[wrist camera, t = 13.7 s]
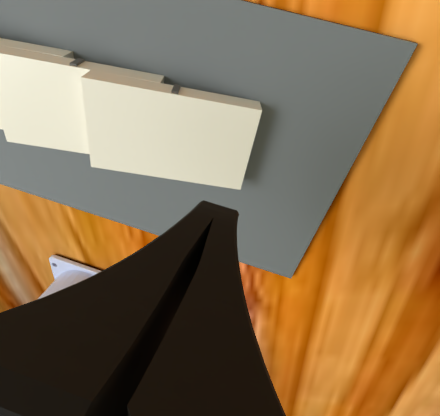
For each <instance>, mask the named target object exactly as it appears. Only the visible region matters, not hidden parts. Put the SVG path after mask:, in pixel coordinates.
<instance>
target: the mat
mask: <svg viewBox="0 0 440 416" xmlns="http://www.w3.org/2000/svg"><path fill="white" fill-rule="evenodd" d="M0 38H3V39H9V40H14V41H20V42H25V43H31V44H36V45H42V46H47V47H53V48H58V49H64V50H69V51H73V55H74V59H77V58H80V59H84V61H88V62H94V63H99V64H104V65H110V66H115V67H120V68H126V69H131V70H136V71H142V72H147V73H152V74H158V75H163V76H164V84H169V85H174V84H177V85H181V87H185V88H190V89H196V90H201V91H206V92H212V93H217V94H222V95H228V96H233V97H238V98H244V99H249V100H254V101H260V104H261V108H262V113H261V117H260V120H259V124H258V128H257V131H256V135H255V139H254V142H253V146H252V150H251V153H250V157H249V161H248V164H247V168H246V171H245V175H244V179H243V182H242V186H241V190H238V189H231V188H225V187H218V186H212V185H205V184H199V183H192V182H186V181H179V180H173V179H166V178H160V177H153V176H147V175H140V174H134V173H127V172H121V171H114V170H108V169H101V168H95V167H91V162H90V154H84V153H78V152H71V151H65V150H58V149H52V148H46V147H39V146H33V145H26V144H20V143H13V142H7V140H6V137H5V134H4V130H2V129H0V184H2V185H5V186H8V187H11V188H14V189H18V190H21V191H24V192H27V193H30V194H33V195H36V196H39V197H42V198H45V199H48V200H51V201H54V202H57V203H61V204H64V205H67V206H70V207H73V208H76V209H79V210H82V211H85V212H88V213H91V214H94V215H97V216H100V217H104V218H107V219H110V220H113V221H116V222H119V223H122V224H125V225H128V226H131V227H134V228H137V229H140V230H144V231H147V232H150V233H153V234H156V235H159V236H160V235H162V234H163V233H164V232H166V231H167V230H168V229H169V228H171V227H172V226H173V225H175V224H176V223H177V222H178V221H180V220H181V219H182V218H183V217H184V216H185V215H187V214H188V213H189V212H190V211H191V210H192V209H193V208H194V207H195V206H196V205H197V204H198V203H199V202H201V201H203V200H204V201H208V202H211V203H214V204H217V205H221V206H224V207H227V208H231V209H234V210H237V211H238V213H239V217H238V222H237V248H238V260H239V262H242V263H245V264H248V265H251V266H254V267H257V268H260V269H263V270H266V271H270V272H273V273H276V274H279V275H282V276H285V277H288V278H291V277H292V275H293V274H294V272H295V270H296V268H297V266H298V264H299V262H300V261H301V259H302V257H303V255H304V253H305V251H306V250H307V248H308V246H309V244H310V242H311V240H312V238H313V237H314V235H315V233H316V231H317V229H318V227H319V226H320V224H321V222H322V220H323V218H324V216H325V214H326V213H327V211H328V209H329V207H330V205H331V203H332V202H333V200H334V198H335V196H336V194H337V192H338V190H339V189H340V187H341V185H342V183H343V181H344V179H345V178H346V176H347V174H348V172H349V170H350V168H351V166H352V165H353V163H354V161H355V159H356V157H357V155H358V154H359V152H360V150H361V148H362V146H363V144H364V142H365V141H366V139H367V137H368V135H369V133H370V131H371V130H372V128H373V126H374V124H375V122H376V120H377V118H378V117H379V115H380V113H381V111H382V109H383V107H384V106H385V104H386V102H387V100H388V98H389V96H390V94H391V93H392V91H393V89H394V87H395V85H396V83H397V82H398V80H399V78H400V76H401V74H402V72H403V70H404V69H405V67H406V65H407V63H408V61H409V59H410V58H411V56H412V54H413V52H414V50H415V48H416V46H417V45H418V44H417V43H415V42H411V41H407V40H403V39H399V38H395V37H391V36H387V35H382V34H378V33H374V32H370V31H366V30H362V29H358V28H354V27H350V26H346V25H342V24H338V23H333V22H329V21H325V20H321V19H317V18H313V17H309V16H305V15H301V14H297V13H293V12H288V11H284V10H280V9H276V8H272V7H268V6H264V5H260V4H256V3H252V2H248V1H244V0H0Z"/></svg>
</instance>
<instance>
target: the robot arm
mask: <svg viewBox="0 0 440 416" xmlns="http://www.w3.org/2000/svg"><path fill="white" fill-rule="evenodd" d="M238 217H239V213H238V211H237V210H234V209H231V208H227V207H224V206H221V205H217V204H214V203H211V202H208V201H204V200H203V201H201V202H199V203H198V204H197V205H196V206H195V207H194V208H193V209H192V210H191V211H190V212H189V213H188V214H187V215H185V216H184V217H183V218H182V219H181V220H180V221H178V222H177V223H176V224H175V225H173V226H172V227H171V228H169V229H168V230H167V231H166V232H164V233H163V234H162V235H160V236H159V237H157V238H156V239H154V240H153V241H152V242H150V243H149V244H147V245H146V246H144V247H143V248H141V249H140V250H138V251H137V252H135V253H133V254H132V255H130V256H128V257H127V258H125V259H123V260H121V261H120V262H118V263H116V264H114V265H113V266H111V267H109V268H107V269H105V270H103V271H100V270H97V269H95V268H92V267H89V266H86V265H83V264H80V263H77V262H74V261H71V260H68V259H65V258H62V257H60V256H57V255H52V256H51V257H50V258H49V261H50V265H51V268H52V272H53V275H54V279H55V281H54V282H53V283H52V284H51V285H50V286H49V287H48V288H47V290H46V291H45V292H44V293H43V294H42V295H41V296H40V297H39V298H38V300H35V301H32V302H30V303H27V304H24V305H21V306H18V307H15V308H13V309H10V310H7V311H4V312H1V313H0V416H286V415H285V413H284V410H283V408H282V406H281V403H280V401H279V399H278V396H277V394H276V391H275V389H274V386H273V384H272V381H271V379H270V376H269V373H268V371H267V368H266V366H265V363H264V360H263V357H262V354H261V351H260V348H259V345H258V342H257V339H256V336H255V333H254V330H253V327H252V323H251V319H250V316H249V312H248V308H247V304H246V300H245V296H244V291H243V286H242V280H241V274H240V268H239V260H238V248H237V222H238Z"/></svg>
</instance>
